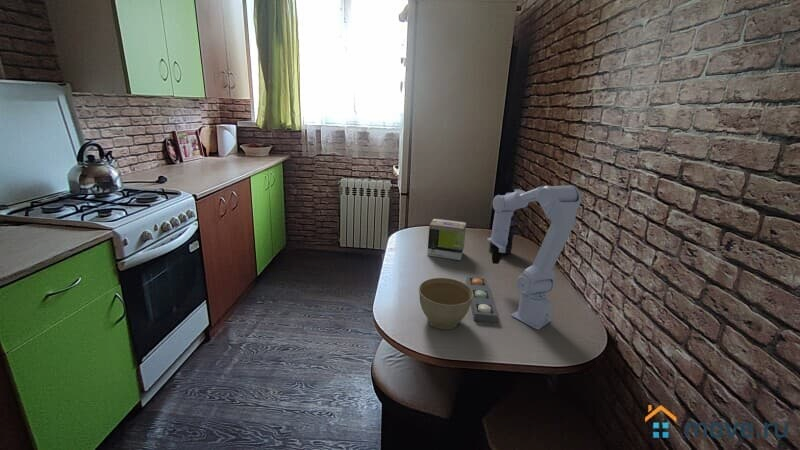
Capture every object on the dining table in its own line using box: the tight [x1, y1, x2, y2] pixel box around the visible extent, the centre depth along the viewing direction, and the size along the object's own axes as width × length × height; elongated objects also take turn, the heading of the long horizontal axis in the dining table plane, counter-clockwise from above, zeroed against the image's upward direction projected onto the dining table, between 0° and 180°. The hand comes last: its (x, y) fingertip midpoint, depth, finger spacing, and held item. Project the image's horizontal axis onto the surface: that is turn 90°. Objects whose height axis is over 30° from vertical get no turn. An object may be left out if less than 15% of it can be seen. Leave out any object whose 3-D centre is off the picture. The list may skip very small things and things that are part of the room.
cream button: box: [478, 304, 491, 313], centre depth 115 cm, size 4×4×2 cm
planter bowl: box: [418, 277, 473, 330], centre depth 110 cm, size 16×16×11 cm
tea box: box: [426, 218, 467, 261], centre depth 158 cm, size 15×10×15 cm, turn 74°
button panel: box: [465, 276, 499, 323], centre depth 124 cm, size 25×7×2 cm, turn 176°
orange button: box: [472, 277, 483, 285], centre depth 132 cm, size 4×4×2 cm
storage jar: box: [489, 219, 517, 258], centre depth 164 cm, size 10×10×15 cm
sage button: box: [474, 290, 487, 298], centre depth 124 cm, size 4×4×2 cm
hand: (495, 263), depth 132 cm, fingers closed
